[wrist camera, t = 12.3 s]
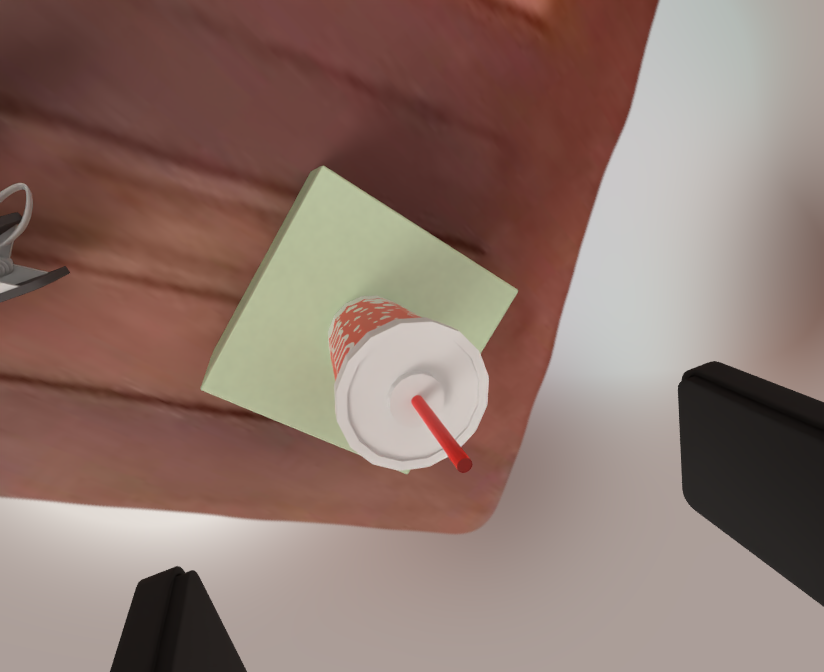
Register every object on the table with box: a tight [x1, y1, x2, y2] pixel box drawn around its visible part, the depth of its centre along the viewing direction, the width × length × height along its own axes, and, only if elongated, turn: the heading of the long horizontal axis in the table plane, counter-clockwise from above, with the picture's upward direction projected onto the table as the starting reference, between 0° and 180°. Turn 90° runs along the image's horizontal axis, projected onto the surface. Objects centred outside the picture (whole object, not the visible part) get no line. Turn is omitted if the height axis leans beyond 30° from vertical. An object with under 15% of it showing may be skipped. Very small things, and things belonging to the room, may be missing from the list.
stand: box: [201, 166, 518, 474], centre depth 30 cm, size 13×13×7 cm
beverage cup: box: [328, 296, 489, 473], centre depth 21 cm, size 6×6×14 cm
